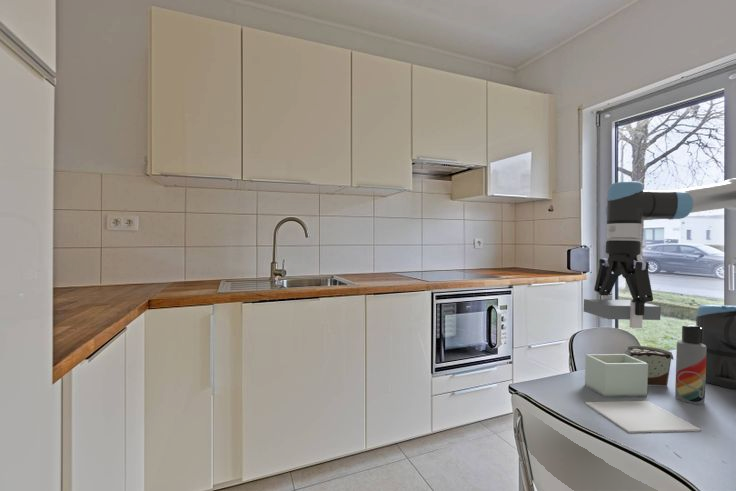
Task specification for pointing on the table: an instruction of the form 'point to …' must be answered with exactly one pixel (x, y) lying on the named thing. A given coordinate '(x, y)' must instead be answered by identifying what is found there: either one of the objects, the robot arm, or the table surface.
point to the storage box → (616, 375)
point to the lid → (619, 309)
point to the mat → (641, 417)
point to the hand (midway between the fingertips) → (619, 322)
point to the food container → (653, 363)
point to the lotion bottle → (691, 366)
